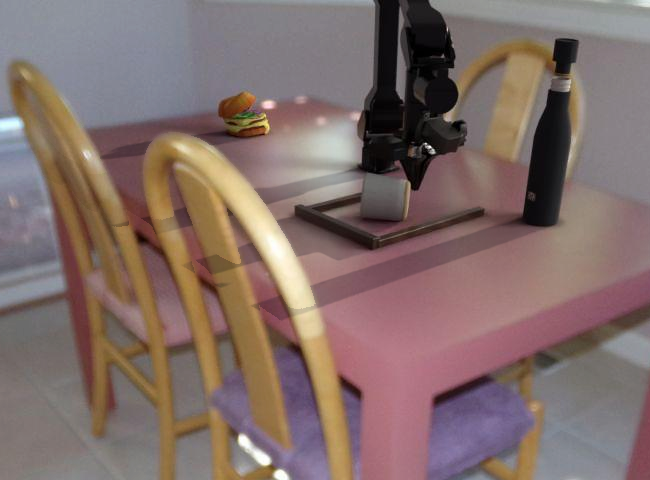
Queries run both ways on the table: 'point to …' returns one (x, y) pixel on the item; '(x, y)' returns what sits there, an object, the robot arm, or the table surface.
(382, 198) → the ceramic mug
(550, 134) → the black bottle
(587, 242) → the table surface
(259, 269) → the table surface
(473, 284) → the table surface
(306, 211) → the brown wooden flat frame
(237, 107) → the cheeseburger
